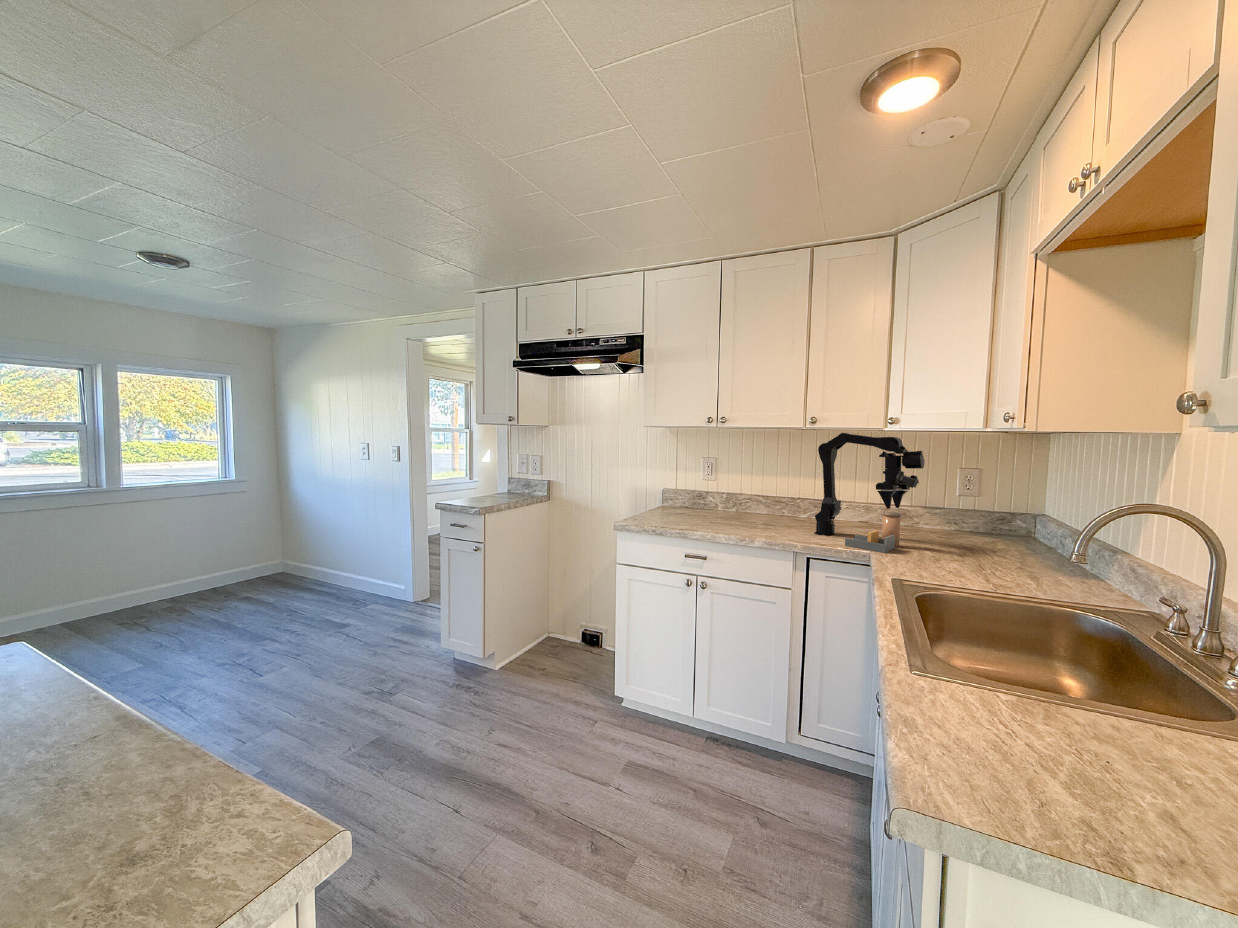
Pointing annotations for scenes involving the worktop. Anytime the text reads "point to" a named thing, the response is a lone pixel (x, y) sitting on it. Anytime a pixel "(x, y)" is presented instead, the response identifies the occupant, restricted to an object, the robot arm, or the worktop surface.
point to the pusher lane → (881, 546)
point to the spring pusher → (873, 536)
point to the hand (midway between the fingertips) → (893, 508)
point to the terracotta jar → (891, 526)
